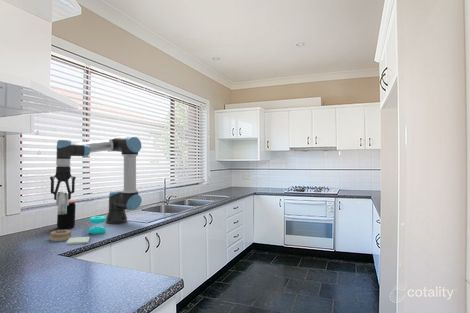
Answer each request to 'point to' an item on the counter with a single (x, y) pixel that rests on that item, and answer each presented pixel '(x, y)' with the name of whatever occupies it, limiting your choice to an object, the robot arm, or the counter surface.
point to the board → (78, 240)
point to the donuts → (97, 228)
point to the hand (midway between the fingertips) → (62, 205)
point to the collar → (60, 235)
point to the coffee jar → (67, 217)
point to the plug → (62, 203)
